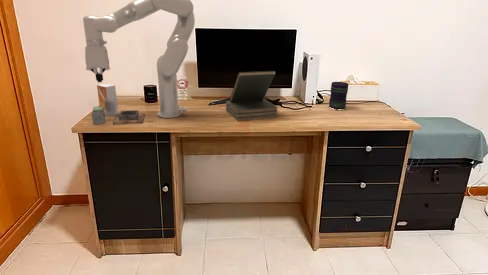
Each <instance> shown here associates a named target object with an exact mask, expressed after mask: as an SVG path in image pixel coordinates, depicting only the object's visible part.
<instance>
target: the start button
mask: <svg viewBox="0 0 488 275" xmlns="http://www.w3.org/2000/svg"><path fill="white" fill-rule="evenodd" d="M102 109H104V108H102V107H101V106H97V105H96V106H93V107H92V111H93V110H94V111H95V112H101V110H102Z"/></svg>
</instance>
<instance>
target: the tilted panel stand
mask: <svg viewBox="0 0 488 275" xmlns="http://www.w3.org/2000/svg"><path fill="white" fill-rule="evenodd" d="M275 75H276V71H274V70H265V71H264V70H263V71H241V72H238V74H237V77H236V79H235V83H234V86H233V89H232V92H231V95H230V97H229V100H226V101H225V111H226V112H227V113H228V114H229V115H230V116H231V115H232V116H233V117H234V118H235V119H236V120H237V121H236V120H235V119H234V118H233V117H232V116H231V117H232V118H233V119H234V120H235V121H236V122H240V121H239V120H245V121H251V120H252V121H253V119H256V120H266V119H265V118H268V119H276V118H277V116H278V106H276V105H275V104H273V103H272V102H270V101H268V100H267V99H266V95H267V92H268V90H269V89H270V86H271V83H272V81H273V80H274V78H275Z"/></svg>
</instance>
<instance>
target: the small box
mask: <svg viewBox="0 0 488 275" xmlns="http://www.w3.org/2000/svg"><path fill="white" fill-rule="evenodd" d="M96 88H97V96H98V105H99V106H101V107H102V108H103V109H104V110H106V109H105V100H106V99H116V102H117V103H118V98H117V91H116V90H117V88H116V85H115V84H112V83H101V84H97V85H96ZM117 108H118V105H117Z"/></svg>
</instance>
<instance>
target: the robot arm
mask: <svg viewBox="0 0 488 275" xmlns="http://www.w3.org/2000/svg"><path fill="white" fill-rule="evenodd" d="M160 10H161V11H165V12H166V13H167V12H168V13H171V14H173V15H176V17H177V21H176V24H175V26H174V28H173V31H172V32H171V34H170V36H169V38H168V40H167V42H166V49H165V51H164V53H163V54H162V55H161V56H159V57H158V58H157V62H156V73H157V82H158V83H157V84H158V97H159V98H158V99H159V111H158V112H157V114H156V115H157V116H158V117H159V118H165V119H170V118H171V119H173V118H174V119H175V118H178V117H180V116H181V115H182V112H185V113H186V112H187V111H188V109H187V107H184V106H183V107H180V106H179V100H178V99H179V98H178V97H179V96H178V78H177V76H178V75H177V73H178V72H179V70H180V68H181V66H182V65H183V62H184V60H185V59H186V57H187V54H188V50H189V44H188V43H189V39H190V38H191V36H192V33H193V31H194V27H195V14H194V4H193V2H192V0H133V1H131V2H129V3H127V5H125V6H124V7H121V8H119V9H117V10H116V11H113V12H111V13H109V14H107V15H104V16H98V15H85V16H83V18H82V21H83V30H84V36H85V44H86V46H85V48H84V57H85V58H84V60H85V69H86V70H87V71H89V72H92V73H93V74H94V75H95V80H96V81H97V83H102V82H103V81H104V76H103V74H104V73H105V71H109V70H111V66H110V60H109V53H108V50H107V46H105V45H107V43H108V42H107V40H104V36H103V33H109V34H110V33H112V34H113V33H115V32H117V30H118V29H120V28H122V27H124V26H126V25H128V24H129V25H130V23H133V22H137V21H141V20H142V19H145V18H147V17H148V16H151V15H152V14H155V13H156V12H158V11H160ZM98 69H99V70H98Z"/></svg>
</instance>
